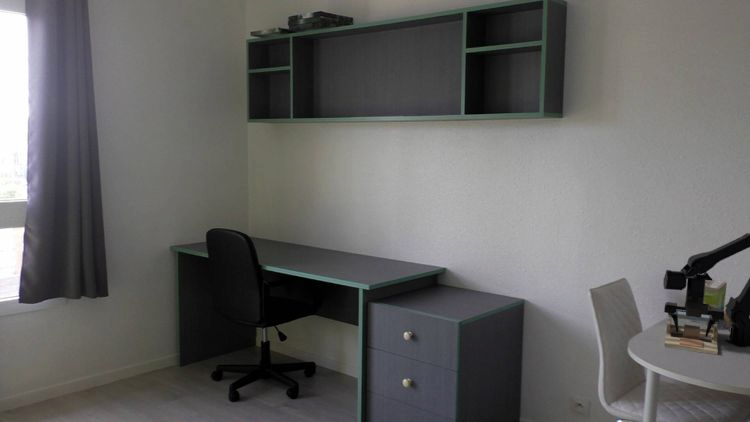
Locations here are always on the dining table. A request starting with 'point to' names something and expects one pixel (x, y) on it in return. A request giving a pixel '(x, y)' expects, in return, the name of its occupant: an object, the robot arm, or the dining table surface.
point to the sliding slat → (692, 317)
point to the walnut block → (691, 332)
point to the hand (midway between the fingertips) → (691, 334)
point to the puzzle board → (692, 340)
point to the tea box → (714, 294)
